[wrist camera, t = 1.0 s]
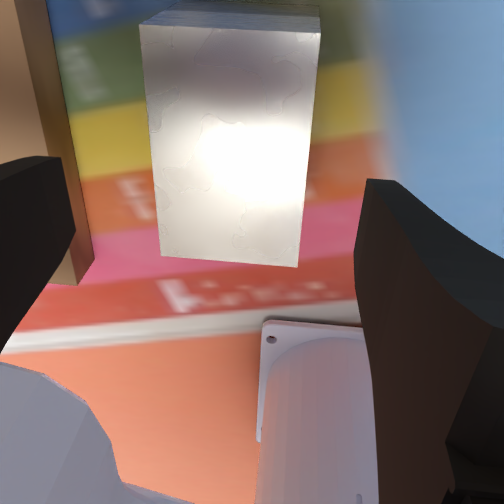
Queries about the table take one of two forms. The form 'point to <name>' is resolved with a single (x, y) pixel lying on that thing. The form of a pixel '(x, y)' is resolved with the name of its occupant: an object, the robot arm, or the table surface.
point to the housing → (230, 126)
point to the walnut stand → (39, 115)
